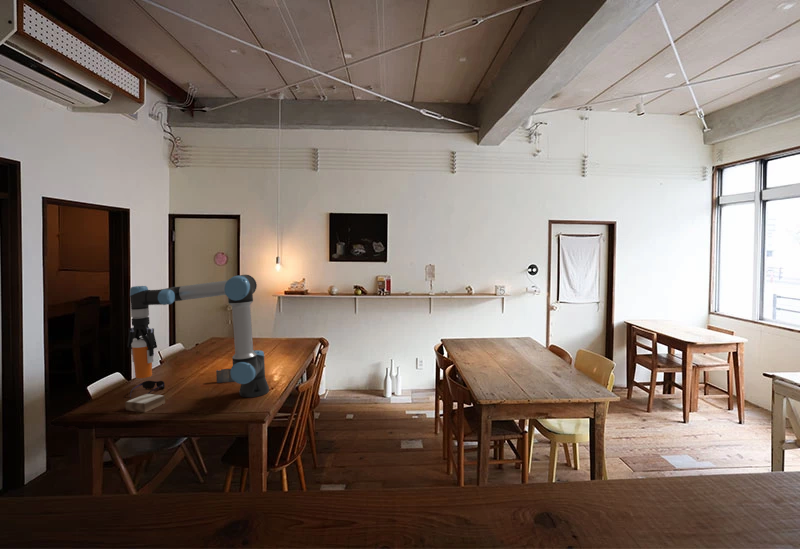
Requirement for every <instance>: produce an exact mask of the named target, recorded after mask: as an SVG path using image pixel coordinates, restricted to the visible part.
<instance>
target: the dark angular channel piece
mask: <svg viewBox="0 0 800 549" xmlns="http://www.w3.org/2000/svg"><path fill="white" fill-rule="evenodd" d="M230 371H231V368H222V369H221V370H219V369H216V371H215V373H216V376H215V377H216V383H218V384H220V383H236V382H235V381H234V380H233V379H232V378H231V375H230Z"/></svg>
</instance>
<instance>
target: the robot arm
mask: <svg viewBox="0 0 800 549" xmlns="http://www.w3.org/2000/svg"><path fill="white" fill-rule="evenodd" d="M257 287H258V285H257V282H256V279H255V278H254V277H253V276H251V275H250V274H239V275H234V276H232V277H230V278H229V279H228V280H220V281H218V280H217V281H212V282H204V283H198V284H197V283H196V284H189V285H180V286H171V287H167V288H160V289H149V288H148V286H147V285H137V286H131V287H130V289H129V299H130V317H131V326H132V327H130V328H129V327H128V337H127V346H126V347H127V348H129V349H131V350H130V351H131V352H130V354H131V358H132V363H134V360H133V351H132V346H131V343H132V342H133V339H134V338H135V337H142V338H144V341H145V342H146V344H147V347H148V349H147V361H148V363H151V362H152V363H154V354H155V353H154V350H155V349H157V348H158V345H157V340H156V337H155V328H150V327H149V325H150V317H149V316H150V309H149V306H153V305H154V306H157V305H158V306H160V305H161V306H167V305H172V304H173V303H174V302H180V301H186V300H187V301H188V300H196V299H197V300H198V299H202V298H211V297H218V296H219V297H220V296H226V297H227V302H228V305H230V306H231V310H232V324H233V326H232V327H233V341H234V352H235V353H234V354H233V356H231V358H232V367H231V368H230V369H231V371H230V375H231V378H232V379H233V380H234V381H235V382H234V383H236V384H238V385H240V388H239V391H238V392H239V396H240V397H243V398H257V397H262V396H265V395H266V394H268V393H270V386H269V385H268V381H267V379H266V370H265V369H266V368H265V353H264V351H263V350H260V349H259V350H254V344H253V328H252V315H251V313H252V312H251V310H252V309H251V304H252V303H253V302H254V295H253V294H254V293H255V292H256V290H257ZM142 338H141V339H142ZM150 346H151V347H150Z"/></svg>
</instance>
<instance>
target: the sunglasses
mask: <svg viewBox="0 0 800 549" xmlns="http://www.w3.org/2000/svg"><path fill="white" fill-rule="evenodd" d="M165 384H166V383H165V381H163V380H159V381H154V380H146V381H145V380H144V381H143V382H142V383H138V385H136V386H134V387H133V388H131V390H130V394H129V399H130V398H131V399H132V392H133V390H135V389H137V388H138V387H142V388H143V389H145V390H148V389H147V388H152V389H151V390H150V391H148V392H147V394H151V393H152V392H153V391H156V390H158V389H159V388H163V389H162V390H164V389H165V387H166V386H165Z"/></svg>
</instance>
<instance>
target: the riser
mask: <svg viewBox="0 0 800 549" xmlns="http://www.w3.org/2000/svg"><path fill="white" fill-rule="evenodd" d="M124 404H125V410H126V411H131V412H132V411H133V412H139V413H140V412H141V413H147V412H149V411H151V410H153V409H156V408H158V407H160V406H162V404H163V405H165V404H166V395H161V394H152V393H149V394H148V393H144V394H142V395H139V396H137V397H135V398H131V399H129V400H127V401H125V403H124Z"/></svg>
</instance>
